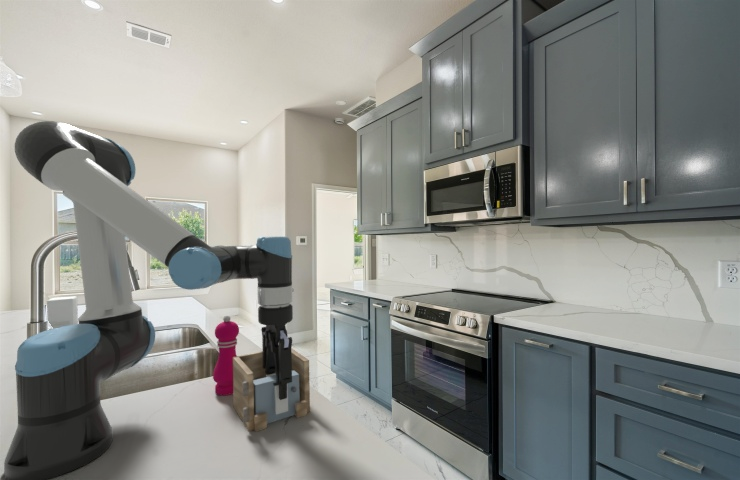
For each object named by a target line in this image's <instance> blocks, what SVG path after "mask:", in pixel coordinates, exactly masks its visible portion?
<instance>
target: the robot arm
mask: <svg viewBox="0 0 740 480" xmlns="http://www.w3.org/2000/svg"><path fill="white" fill-rule="evenodd" d="M14 153H15V157H16V159H17V161H18V163H19V164H20V165H21V167H22V168H23V169H24V170H25V171H26V172H27V173H28V174H29V175H30V176H32V177H34V178H35V179H36V180H37V181H38V182H40V183H41V184H43V185H44V186H46V187H47V188H48V189H50V190H53V191H59V192H61V191H62V194H63V196H64V197H66V198H67V199H68V200H69V201H71V202H72V203H73V209H74V210H73V213H74V218H75V219H74V221H75V228H76V236H77V245H78V254H79V261H80V269H81V276H82V285H83V286H82V287H83V295H84V303H85V311H84V312H83V313H82V314H81V315H80V316H78V324H73V325H67V326H62V327H60V328H53V329H50V330H48V329H47V330H44V331H41V332H38V333H36V334H34V335H32V336H29V337H27V338H26V339H25V340H24V341H22V342H21V344H20V345H19V346H18V348H17V350H16V352H17V354H16V363H15V365H14V371H15V377H16V378H15V380H16V405H17V426H16V430H15V432H14V435H13V437H12V440H11V443H10V446H9V448H8V450H7V453H6V456H5V458H4V461H3V462H4V463H3V467H4V468H3V469H4V470H3V472H4V478H5V479H6V480H47V479H51V478H55V477H59V476H62V475H64V474H67V473H69V472H72V471H74V470H78V469H79V468H81V467H83V466H85V465H88V464H89V463H91V462H92V461H94V460H96V459H98V458H99V457H100V456H101V455H103V454H104V453H105V452H106V451H107V450H108V449H109V448H110V446H111V445H112V443H113V429H112V426H111V424H110V422H109V421H110V420H109V419H108V417H107V415H106V412H105V411H104V409H103V406H102V403H101V383H102V382H103V381H106V380H107V379H109V378H111V377H113V376H115V375H117V374H119V373H121V372H124V371H125V370H128V369H130V368H132V367H134V366H136V365H137V364H138V363H139V362H140V361H142V360H143V359H145V358H146V357H147V356H148V355H149V354H150V352H151V351H152V350H153V347H154V345H155V343H156V342H155V341H156V330H155V326H154V325H153V323H152V321H150V320H149V319H148V317H146V316H144V315H143V311H142V307H141V306H140V305H138V304H136V303H135V302H134V301H133V293H132V283H131V278H130V277H131V276H130V267H129V261H128V260H129V259H128V250H127V242H126V238H127V239H129V240H130V241H131V242H132V243H134V244H135V245H137V246H138V247H140V249H142V250H143V251H145V252H146V253H148V254H149V255H150V256H152V257H153V258H154V259H156V260H157V261H159V262H160V263H161V264H163V265H164V266H165V267H167V268H168V274H169V277H170V279H171V280H172V283H174V284H175V285H176V286H177V287H179V288H181V289H183V290H190V291H191V290H192V291H193V290H200V289H207V288H210V287H211V286H214V285H216V284H220V283H221V284H222V283H224V282H227V281H231V280H242V279H243V280H247V279H248V280H249V279H250V280H251V279H252V280H253V279H257V304H258V305H259V306H258V309H257V313H258V315H257V316H258V317H257V318H258V319H257V320H258V323H259V324H260V325H264V326H263V327H261V329H260V331H261V336H262V337H261V339H262V341H261V342H262V344H261V345H262V346H261V347H262V351H263V369H265V373H266V374H267V375H266V377H269V376H273V375H276V382H275V383H273V385H274V386H275V414H276V415H277V414H280V413H283V412H286V411H288V383H291V382H292V353H291V348H292V347H293V337H291V336H288V330H287V327H286V324H288V323H290V322H292V320H293V319H294V318H293V314H294V313H293V308H294V307H293V305H292V302H293V292H295V291H294V290H295V289H294V288H293V281H292V280H293V279H292V278H293V276H292V275H293V273H292V272H293V255H292V244H291V239H290V238H289V237H287V236H259V237H258V238H257V240H256V243H255V244H254V245H214V246H210V245H208V244H207V243H206V242H205V241H203V240H201V239H200V238H199V237H197V236H196V235H195V234H194V233H192V232H191V231H190V230H188V229H186V227H184V226H182V224H180V223H179V222H177V221H176V220H175V219H173V218H172V217H171V216H169V215H168V214H166V213H165V212H164V211H162V210H161V209H160V208H158V207H157V206H155V205H154V204H153V203H151V202H150V201H148V200H147V199H146V198H145V197H143V196H142V195H141V194H140V193H138V192H136V191H135V190H133V189H132V188H131V187H129V186H130V185H131V184H132V181H133V180H134V179H135V176H136V165H135V164H136V163H135V160H134V158H133V156H132V155H131V153H130V152H129V151H128V150H127V149H126V148H125V147H124V146H122V145H121V144H119V143H116V142H115V141H114V140H111V139H110V138H106V136H105V137H104V136H101V135H100V136H99V135H96V134H93V133H91V132H89V131H86V130H83V129H81V128H78V127H75V126H72V125H70V124H67V123H64V122H60V121H53V120H50V121H49V120H45V121H39V122H34V123H32V124H31V123H30V124H29V125H28V126H26V127H25V128H23V129H21V131H20V132H19V133H18V135H17V137H16V139H15V141H14Z"/></svg>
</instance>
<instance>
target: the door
mask: <svg viewBox="0 0 740 480" xmlns="http://www.w3.org/2000/svg"><path fill="white" fill-rule="evenodd" d="M275 382H276V375H273V376H269V377H265V378H261V379H257V380H253V383H254V415H257V414H260V413H264V412H266V414H267V425H268V424H271V423H274V422H277V421H279V420H283V419H286V418H289V417H292V416H295V403H297V402H300V395H299V374H298V373H297V372H295V371H292V382H291V383H288V411H286V412H283V413H280V414H277V415H276V414H275V386H274V385H273V383H275Z"/></svg>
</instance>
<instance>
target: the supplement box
mask: <svg viewBox="0 0 740 480" xmlns="http://www.w3.org/2000/svg"><path fill="white" fill-rule="evenodd" d="M46 306H47V307H46V309H47V322H48V321H49V323H50V324H51V326H52V327H53V328H60V327H62V326H67V325H73V324H79V321H78V318H79V315H78V312H79V311H78V295H75V296H71V295H70V296H62V297H61V296H59V297H52V298H50V299H47V300H46Z"/></svg>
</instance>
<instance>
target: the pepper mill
mask: <svg viewBox="0 0 740 480" xmlns="http://www.w3.org/2000/svg"><path fill="white" fill-rule="evenodd" d="M222 320H223V321H222V322H220V323H219V324H217V325H216V327H215V329H214V336H215V337H216V339H217V341H216V343H217V344H216V346H217V348H218V357H217V361H216V364H215V366H214V369H213V373H212V380H213V381H214V383H216V384H215V385H214V390H215V391H214V392H215V394H216V395H218V396H230V395H233V357H236V356H238V355H237V351H236V350H237V349H236V346H237V345H238V338H237V337H238V336H239V334H240V327H239V325H238V324H237V323H236V322H235V321H231V317H230V316H229V315H225V316H224V317H223V319H222Z"/></svg>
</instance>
